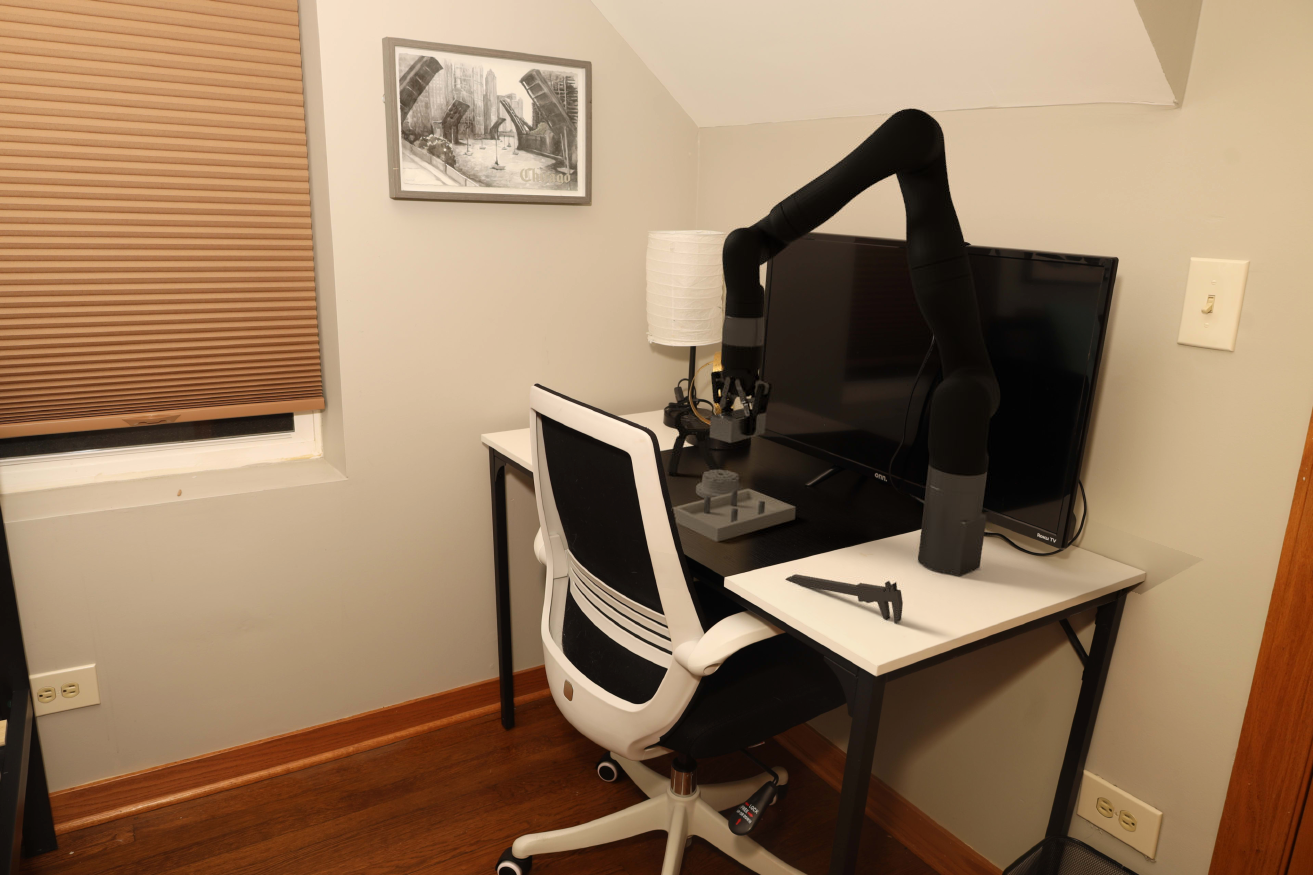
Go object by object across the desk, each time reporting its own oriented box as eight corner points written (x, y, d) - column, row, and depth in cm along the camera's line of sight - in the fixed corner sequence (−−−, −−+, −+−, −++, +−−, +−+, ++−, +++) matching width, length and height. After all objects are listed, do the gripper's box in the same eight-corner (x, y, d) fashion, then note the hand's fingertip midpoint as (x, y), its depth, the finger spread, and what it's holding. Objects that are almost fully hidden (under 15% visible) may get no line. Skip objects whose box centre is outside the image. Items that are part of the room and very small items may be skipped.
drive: (764, 433, 163) (766, 412, 162) (730, 442, 156) (731, 420, 155) (743, 427, 166) (745, 407, 165) (709, 437, 159) (710, 415, 158)
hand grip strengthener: (723, 481, 189) (726, 414, 184) (667, 476, 191) (668, 409, 187) (725, 477, 191) (728, 411, 187) (669, 472, 193) (670, 407, 189)
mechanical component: (704, 504, 175) (751, 500, 177) (705, 483, 174) (752, 480, 176) (689, 488, 184) (733, 485, 187) (690, 468, 183) (734, 465, 185)
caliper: (900, 624, 128) (905, 584, 126) (897, 626, 127) (901, 586, 125) (788, 579, 141) (791, 543, 140) (784, 581, 141) (787, 545, 139)
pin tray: (794, 519, 167) (796, 499, 166) (717, 541, 155) (718, 520, 154) (747, 500, 177) (748, 481, 176) (671, 520, 165) (672, 500, 164)
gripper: (786, 345, 153) (779, 437, 158) (730, 333, 164) (726, 420, 169) (755, 348, 149) (750, 443, 153) (700, 336, 160) (697, 425, 164)
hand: (737, 431), depth 161 cm, fingers closed on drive, 5 cm apart
